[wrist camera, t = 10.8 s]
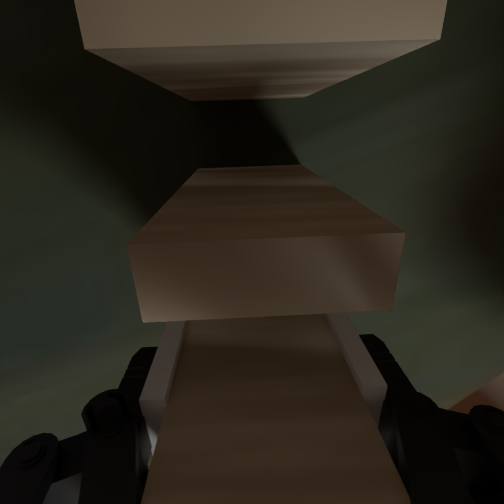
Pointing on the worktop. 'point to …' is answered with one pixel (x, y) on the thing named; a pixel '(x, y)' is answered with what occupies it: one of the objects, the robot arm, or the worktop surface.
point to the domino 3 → (268, 420)
